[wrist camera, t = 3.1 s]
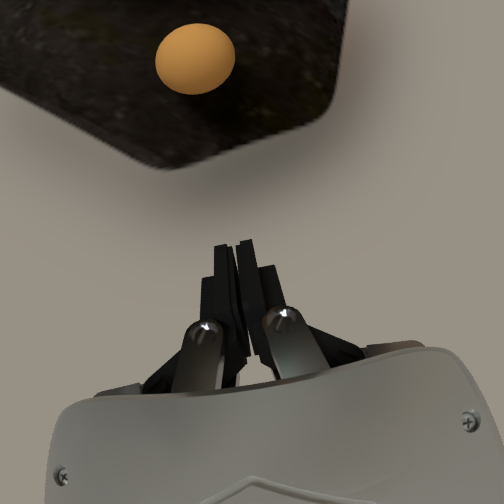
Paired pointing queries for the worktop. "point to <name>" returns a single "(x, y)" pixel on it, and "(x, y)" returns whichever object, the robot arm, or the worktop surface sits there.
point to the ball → (195, 59)
